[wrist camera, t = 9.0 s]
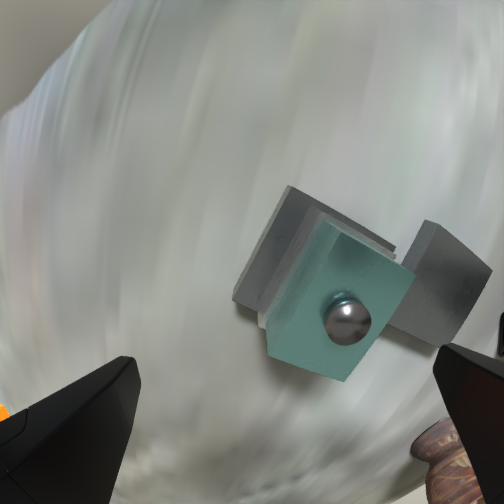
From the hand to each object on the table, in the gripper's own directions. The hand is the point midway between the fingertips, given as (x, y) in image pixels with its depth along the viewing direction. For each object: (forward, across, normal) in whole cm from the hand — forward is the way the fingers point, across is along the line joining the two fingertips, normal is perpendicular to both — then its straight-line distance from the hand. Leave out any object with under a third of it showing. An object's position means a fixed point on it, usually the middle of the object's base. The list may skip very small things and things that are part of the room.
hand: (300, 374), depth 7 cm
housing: (+11, -3, +1) cm, 11 cm away
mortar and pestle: (+13, -24, +26) cm, 37 cm away
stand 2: (+13, -14, +3) cm, 19 cm away
